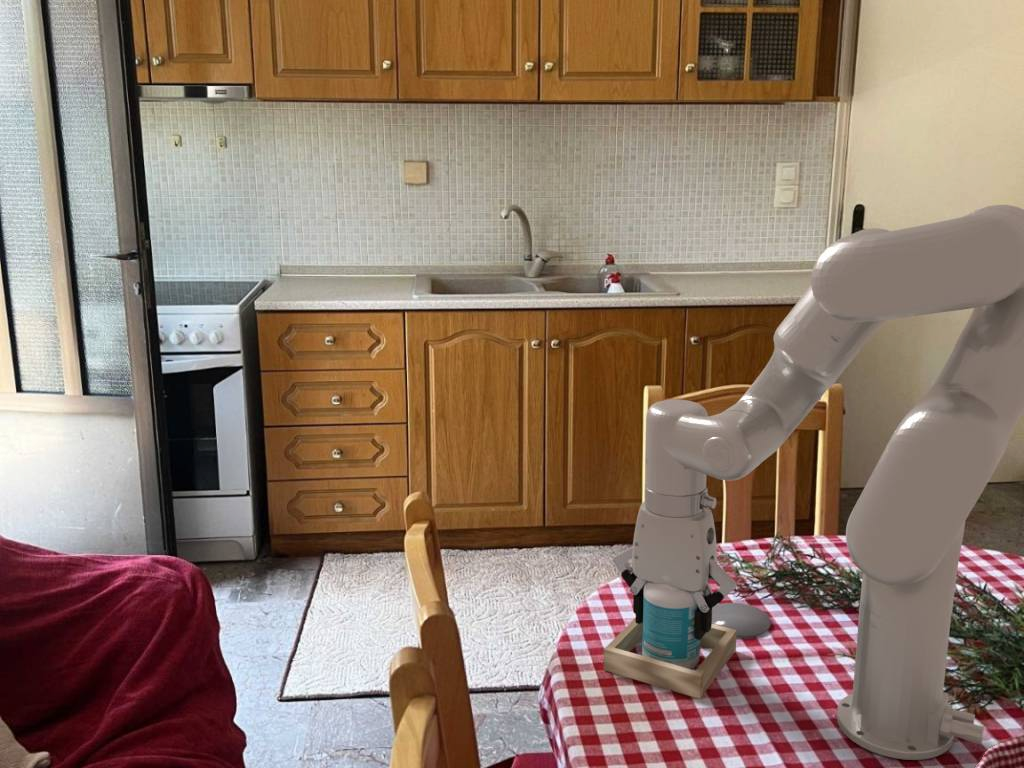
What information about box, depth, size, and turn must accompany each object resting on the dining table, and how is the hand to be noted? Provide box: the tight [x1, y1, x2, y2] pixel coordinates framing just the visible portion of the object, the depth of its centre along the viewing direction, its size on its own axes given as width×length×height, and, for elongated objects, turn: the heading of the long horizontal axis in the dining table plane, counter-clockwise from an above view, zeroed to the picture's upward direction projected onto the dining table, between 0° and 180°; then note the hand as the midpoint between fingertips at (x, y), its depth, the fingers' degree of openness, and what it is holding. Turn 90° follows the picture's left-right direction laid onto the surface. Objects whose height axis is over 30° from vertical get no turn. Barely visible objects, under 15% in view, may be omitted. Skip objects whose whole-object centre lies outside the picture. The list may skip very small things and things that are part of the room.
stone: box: [712, 602, 771, 639], centre depth 140 cm, size 9×9×1 cm
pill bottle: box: [641, 575, 701, 670], centre depth 128 cm, size 8×7×14 cm
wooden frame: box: [603, 618, 738, 700], centre depth 130 cm, size 13×13×3 cm
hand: (671, 626), depth 129 cm, fingers closed on pill bottle, 7 cm apart
